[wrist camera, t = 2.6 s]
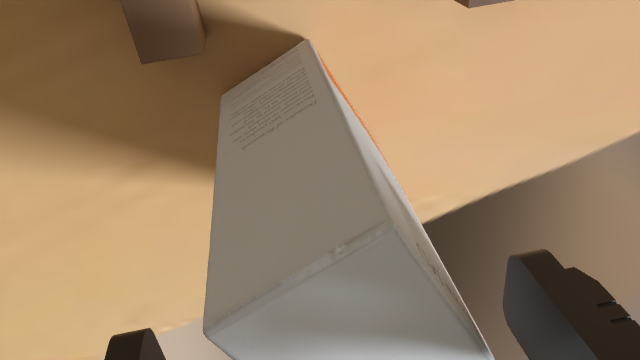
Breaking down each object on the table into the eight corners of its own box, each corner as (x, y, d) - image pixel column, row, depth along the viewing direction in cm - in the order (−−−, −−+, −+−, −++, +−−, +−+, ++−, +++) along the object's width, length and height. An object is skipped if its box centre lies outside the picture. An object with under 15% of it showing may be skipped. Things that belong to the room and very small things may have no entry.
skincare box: (382, 146, 21) (517, 392, 11) (300, 196, 22) (356, 469, 12) (307, 29, 18) (399, 222, 8) (215, 92, 19) (189, 342, 8)
